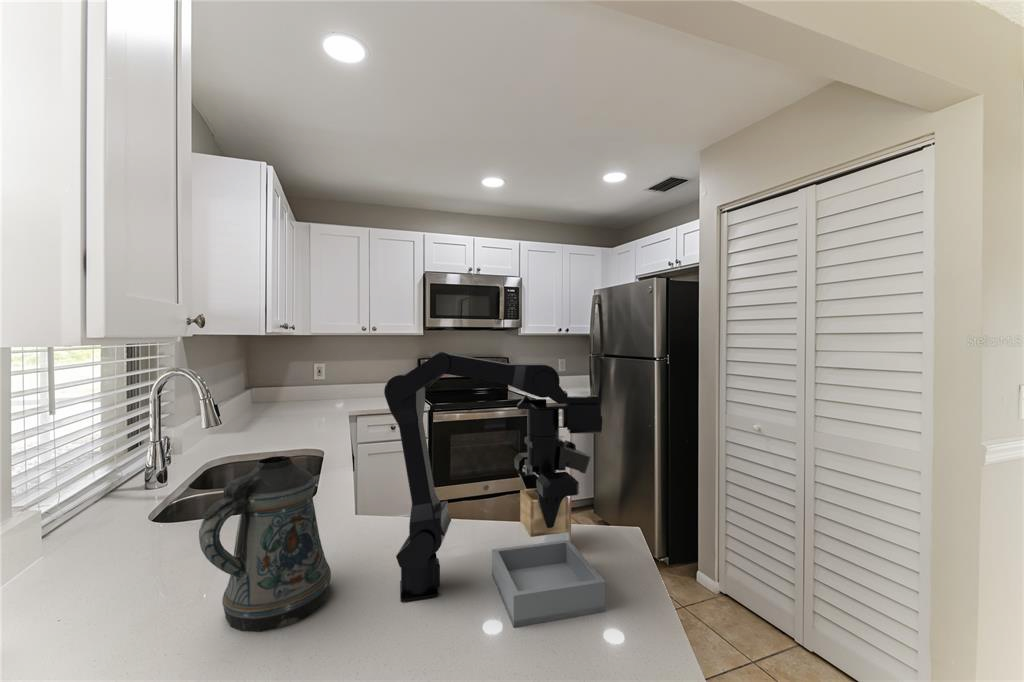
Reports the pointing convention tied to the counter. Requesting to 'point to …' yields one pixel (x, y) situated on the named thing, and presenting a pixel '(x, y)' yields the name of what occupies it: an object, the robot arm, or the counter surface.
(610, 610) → the counter surface
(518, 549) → the slate gray crate
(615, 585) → the counter surface
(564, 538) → the small box
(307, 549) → the beer stein
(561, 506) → the oak crate
